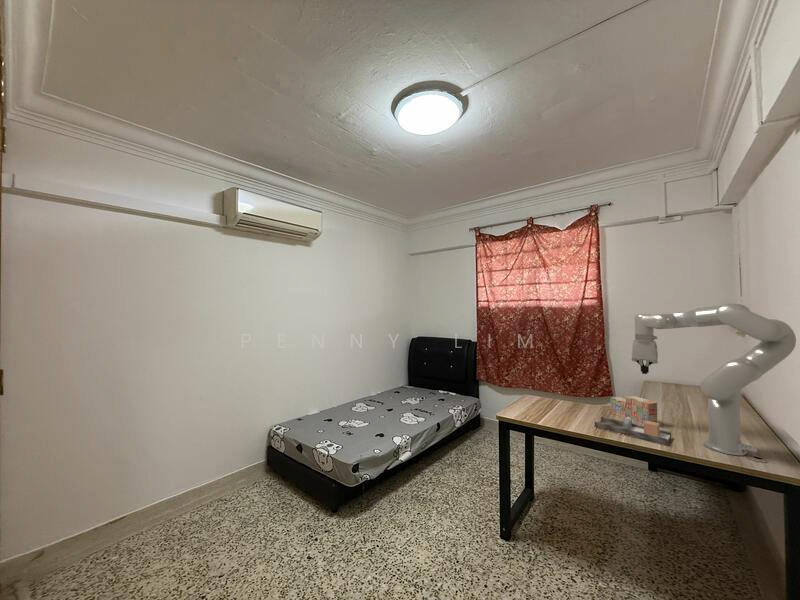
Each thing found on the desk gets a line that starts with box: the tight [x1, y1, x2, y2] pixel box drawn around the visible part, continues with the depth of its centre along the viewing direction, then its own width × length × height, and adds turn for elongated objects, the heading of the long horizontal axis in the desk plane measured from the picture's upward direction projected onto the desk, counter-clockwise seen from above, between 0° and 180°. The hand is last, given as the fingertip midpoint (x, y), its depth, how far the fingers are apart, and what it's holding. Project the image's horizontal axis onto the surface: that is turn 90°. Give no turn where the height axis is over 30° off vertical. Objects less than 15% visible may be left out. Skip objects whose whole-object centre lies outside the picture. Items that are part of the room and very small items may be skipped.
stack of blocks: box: [609, 395, 658, 425], centre depth 169 cm, size 21×6×12 cm, turn 15°
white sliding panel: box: [623, 419, 670, 442], centre depth 146 cm, size 16×9×4 cm, turn 42°
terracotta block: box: [643, 420, 661, 436], centre depth 144 cm, size 5×5×5 cm
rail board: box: [594, 416, 672, 447], centre depth 150 cm, size 28×12×3 cm, turn 42°
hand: (644, 373), depth 158 cm, fingers closed
